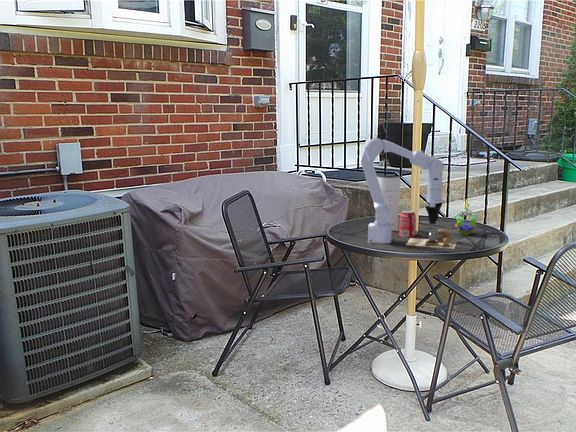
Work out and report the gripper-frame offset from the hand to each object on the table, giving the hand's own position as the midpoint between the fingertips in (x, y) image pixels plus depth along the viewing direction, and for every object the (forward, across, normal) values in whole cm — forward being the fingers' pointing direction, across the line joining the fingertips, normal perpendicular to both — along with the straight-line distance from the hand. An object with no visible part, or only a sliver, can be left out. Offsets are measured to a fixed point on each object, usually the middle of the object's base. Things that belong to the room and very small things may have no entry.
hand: (433, 221), depth 212 cm
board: (+10, -1, 0) cm, 10 cm away
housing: (+9, +4, -4) cm, 10 cm away
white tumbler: (+10, +22, +23) cm, 33 cm away
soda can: (+10, +10, +12) cm, 19 cm away
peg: (+9, -4, 0) cm, 9 cm away
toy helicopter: (+10, +23, -12) cm, 28 cm away
